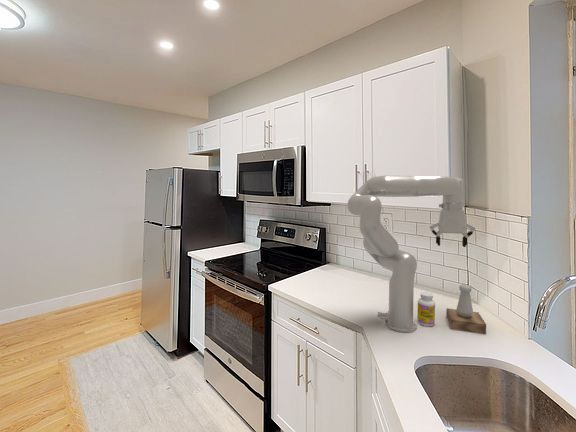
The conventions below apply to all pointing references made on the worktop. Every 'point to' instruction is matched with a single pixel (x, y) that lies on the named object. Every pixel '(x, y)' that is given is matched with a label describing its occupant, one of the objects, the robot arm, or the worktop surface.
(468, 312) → the salt shaker
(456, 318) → the walnut riser block
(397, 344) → the worktop surface
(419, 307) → the supplement bottle
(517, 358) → the worktop surface
